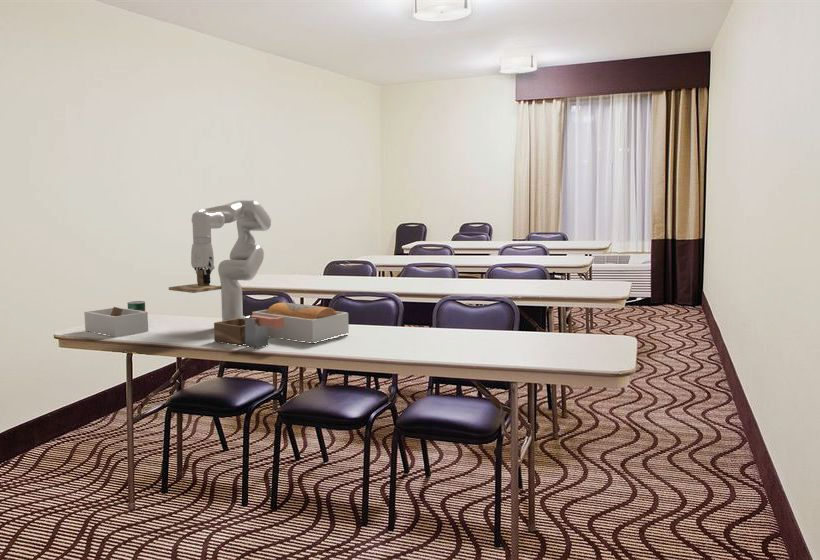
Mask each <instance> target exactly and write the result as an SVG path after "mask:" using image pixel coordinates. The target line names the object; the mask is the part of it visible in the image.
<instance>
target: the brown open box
mask: <svg viewBox="0 0 820 560" xmlns="http://www.w3.org/2000/svg"><path fill="white" fill-rule="evenodd" d="M213 329H214V330H213V332H214V337H213V338H214V342H215V341H216V342H217V343H221V342H223V343H222V344H227V343H229V344H228V345H232V344H237V345H236V346H238V345H243V344H246V343H245V319H243V318H237V319H231V320H226V321H222V320H221V321H217V322H214V323H213ZM216 342H215V343H216ZM243 346H244V345H243Z"/></svg>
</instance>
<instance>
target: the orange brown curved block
mask: <svg viewBox="0 0 820 560" xmlns="http://www.w3.org/2000/svg"><path fill="white" fill-rule="evenodd" d="M266 310H267V309H266ZM266 314H274V315H281V316H288V317H296V318H303V319H310V320H314V319H318V318H323V317H328V316H332V315H337V314H338V313H337V312H336V310H335V309H333V308H331V307H326V306H318V305H311V304H301V303H293V302H292V303H291V302H277V303H274V304H272V305H271V306H269V307H268V310H267V312H266Z"/></svg>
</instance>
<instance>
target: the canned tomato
mask: <svg viewBox="0 0 820 560" xmlns="http://www.w3.org/2000/svg"><path fill="white" fill-rule="evenodd" d="M126 303H127V309H131V310H138V311H144V312H146V301H144V300H143V301H142V300H134V301H128V302H126Z"/></svg>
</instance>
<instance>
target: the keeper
mask: <svg viewBox="0 0 820 560" xmlns="http://www.w3.org/2000/svg"><path fill="white" fill-rule="evenodd" d="M245 317H246V316H245ZM245 343H246V345H245V347H246V346H249V347H254V348H253V349H255V348H257V349H259V348H258V347H261V348H263V347H262V346H265V347H267V346H266V345H268V346H269V337H268V326H264V325H258V319H256V318H249V317H246V318H245ZM249 347H248V348H249Z"/></svg>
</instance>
